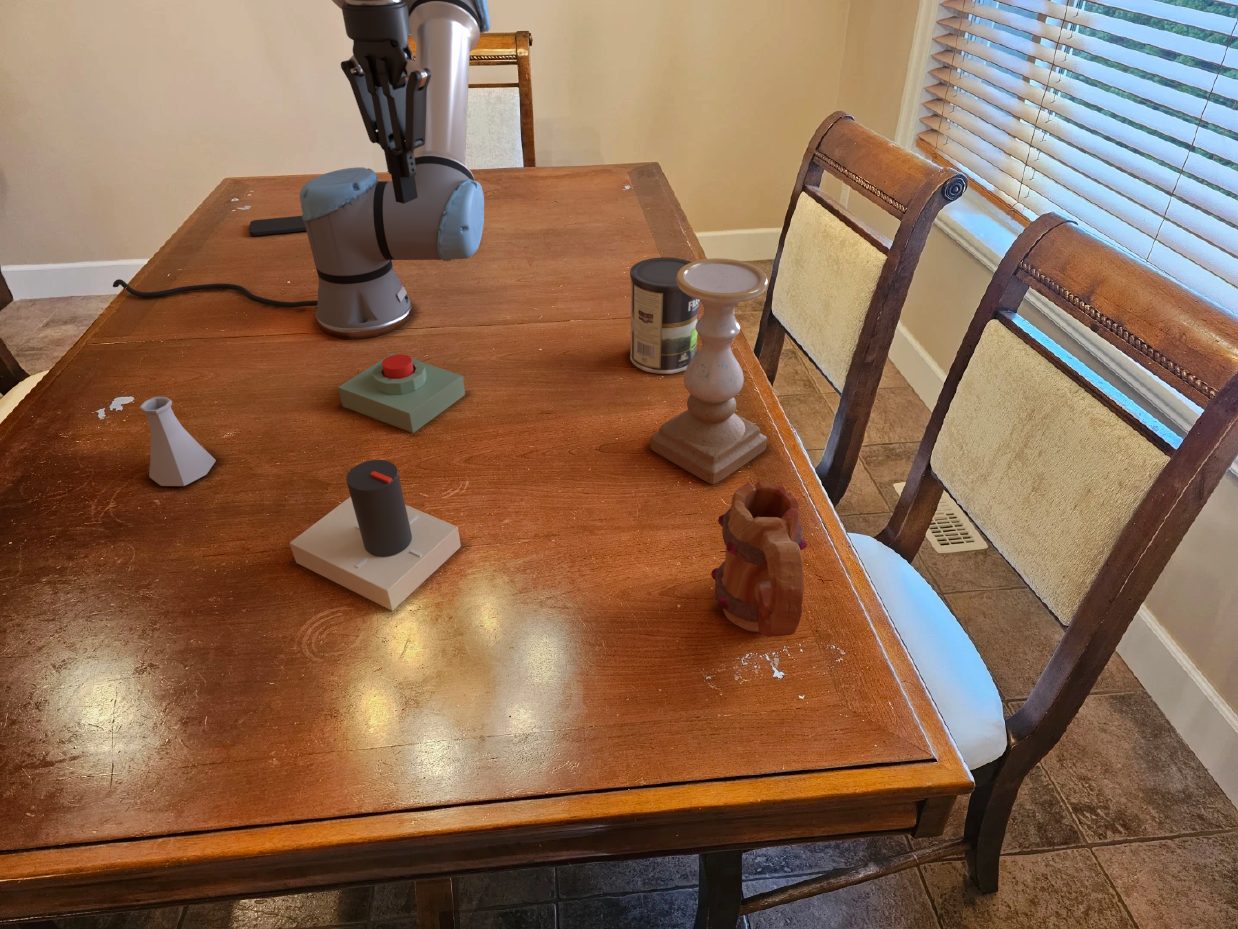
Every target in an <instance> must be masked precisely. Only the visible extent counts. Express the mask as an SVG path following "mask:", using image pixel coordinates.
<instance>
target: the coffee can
mask: <svg viewBox="0 0 1238 929" xmlns="http://www.w3.org/2000/svg"><path fill="white" fill-rule="evenodd" d="M691 262H692V261H690V260H687V259H684V258H679V257H668V256H664V257H663V256H661V257H659V256H658V257H652V258H647V259H644V260H640V261H639V262H636V263H635V264H633V265H632V266H631V267H630V269H629V277H630V353H629V359H630V361H631V363H632V365H633V366H634V367H636V368H638V369H640V370H641V371H644V372H647V373H651V374H658V375H672V374H678V373H682V372H685V370H686V368H687V366H688V364H689V363H690V361H691V360H692V359H693V358H694V357H695V356H696V354H697V350H698V349H697V348H698V347H697V346H698V335H699V334H698V333H697V331H696V323H697V322H698V321H699V319H700V318H699V316H700V303H701V301H700V300H698V299H695V298H692V297H690V296H688V295H687V294H685V293H684V292H682V291H681V290H680V288H679V287H678V285H677V282H676V276H677V273H678V271H679V270H680V269H681V268H682V267H683V266H685V265H687V264H689V263H691Z"/></svg>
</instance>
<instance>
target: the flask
mask: <svg viewBox="0 0 1238 929" xmlns="http://www.w3.org/2000/svg"><path fill="white" fill-rule="evenodd" d="M172 405H173V400H172V399H170V398H168V397H167V396H154V397H151V398H149V399H147V400H144V401H143V402H142V404H141V405H140V406H139V410H140V411H142V412H143V413H144V414H145V417H146V419H147V420H148V426H149V431H150V454H149V455H150V456H149V470H148V472H149V473H148V477H149V478H150V479H151V480H152V481H154V482H155V483H157V485H159V486H160V487H185V486H187V485H190V484H191V483H193V482H195V481H197V480H200V478H203V477H205V476H206V475H208V473H209V472H210V470H211V469H212V467H213V466H214V464H215V463H216V461H217V460H216V459H215V458H214V457H213V456H212V454H211V453H209V452H208V451H207V450H206V449H205V448H204V447H203V446H202V445H201V444H200V443H199V442H198V441H197V440H196V439H195V438H194V437H193V436H192V435H191V434H190V433H189V432H188V431H187V430H186V429H185V428H184V427H183V425H182V424H181V422H180V421H179V420H178V418H177V417H176V416H175V413H174V411H173V409H172Z"/></svg>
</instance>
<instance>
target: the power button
mask: <svg viewBox="0 0 1238 929" xmlns="http://www.w3.org/2000/svg"><path fill="white" fill-rule="evenodd" d="M396 354H397V355H392V356H389V355H388V356H389V357H387V356H386V357H387V358H386V357H384V358H385V359H384V358H383V359H384V360H383V361H382V367H383V371H384V375H385V377H386V378H389V379H401V378H405V377H408V376H410V375H411V374H413V372H414V369H413V363H412V359H411V358H412V357H411V356H410V355H407V354H402V353H401V354H400V353H399V354H398V353H396Z"/></svg>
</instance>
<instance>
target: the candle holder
mask: <svg viewBox="0 0 1238 929" xmlns="http://www.w3.org/2000/svg"><path fill="white" fill-rule="evenodd" d="M690 262H691V263H689V264H687V265H685V266H683V267H682V268H681V269H680V270H679V271H678V273H677V276H676V282H677V285H678V287H679V288H680V290H681V291H682V292H684V293H685V294H687V295H688V296H690V297H692V298H695V299H698V300H700V303H701V304H702V307H703V314H702V316H701V317H700V318H699V319H698V322H697V323H696V331H697V333H698V334H697V335H699V338H700V340H701V342H702V345H701V346H700V348H699V350H698V352H696V356H695V357H694V358H693V359H692V360H691V361H690V363H689V364H688V366H687V368H686V370H685V371H684V374H683V383H684V387H685V389H686V390H687V392H688V393H689V394H690V395H689V396H688V398H687V402H686V407H687V409H686V410H684V411H682V412H680V413H679V414H678V415H676V416H674V417H672V418H671V419H669V420H668V421H666V422H665V423H663V424H662V425H661V426H660V428H658V431H657V432H656V433H654V434H653V435H651V436H650V446H649V447H650V450H652V451H653V452H654V453H657V454H658V455H659V456H661V457H662V458H664V459H666V460H668V461H670V462H671V463H673V464H675V465H676V466H678V467H679V468H681V469H683V470H685V471H686V472H688V473H690V474H692V475H694V476H695V477H697V478H699V479H701V480H703V482H706V483H708V484H710V485H716V484H717V483H720V482H721V481H722V480H724V479H726V478H727V477H728V476H730V475H732V474H733V473H734V472H736V471H738V469H740V468H742V467H743V466H745V465H747V463H749V462H750V461H752V460H753V459H755V458H756V457H758V456H759V455H760V454H762V453H763V452H764V451H766V449H767V443H768V437H767V436H766V435H764V434H762V433H761V428H760V427H759V426H758V425H756V424H755V423H754V422H751V421H750V420H748V419H746V418H744V417H742V416H740V415H738V414H737V413H735V412H736V409H737V401H736V398H735V397H737V395H738V394H739V393H740V392H741V391H742V389H743V386H744V381H745V378H744V375H745V374H744V372H743V369H742V366H741V365H740V363H739V361H738V360H737V358H736V357H735V355H734V352H733V350H732V347H731V345H732V343H733V341H734V340H735V339H736V337H737V336H738V335H739V334H740V332H741V325H740V324H739V322H738V321H737V319H736V316H735V311H736V308H737V306H738V305H739V304H741V303H745V302H748V301H751V300H754V299H757V298H758V297H760V296H761V295H762V294H764V292H765V291H766V290H767V288H768V283H769V280H768V276H767V274H766V273H765V271H763V269H761V268H760V267H758V266H756V265H754V264H752V263H749V262H747V261H743V260H738V259H733V258H720V257H719V258H704V259H697V260H694V261H690Z"/></svg>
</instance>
